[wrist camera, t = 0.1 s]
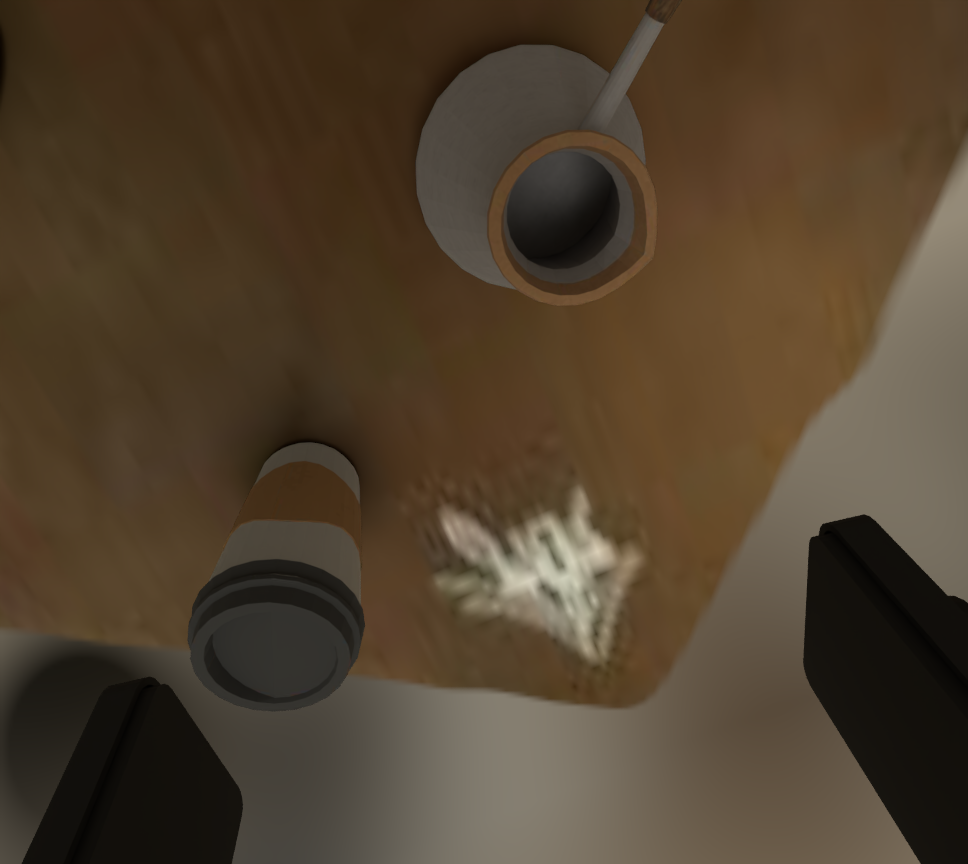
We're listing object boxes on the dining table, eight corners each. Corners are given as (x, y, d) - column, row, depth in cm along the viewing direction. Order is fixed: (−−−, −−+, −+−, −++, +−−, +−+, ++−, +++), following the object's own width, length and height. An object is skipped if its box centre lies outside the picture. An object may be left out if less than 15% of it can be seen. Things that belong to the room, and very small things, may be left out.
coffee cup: (248, 528, 46) (186, 719, 33) (241, 421, 42) (168, 590, 29) (372, 532, 47) (359, 718, 34) (378, 428, 43) (365, 595, 30)
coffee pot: (570, 301, 40) (647, 425, 27) (384, 229, 37) (372, 331, 24) (776, -119, 31) (1037, -230, 18) (552, -261, 28) (676, -517, 15)
